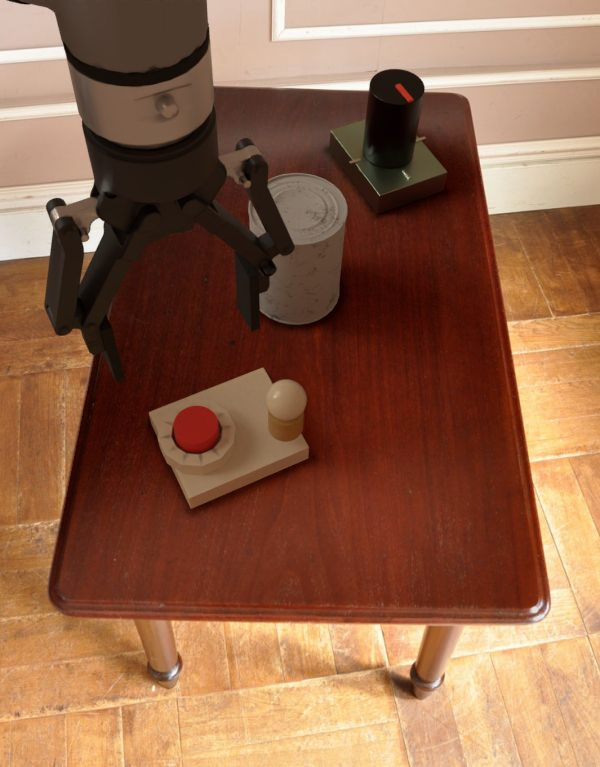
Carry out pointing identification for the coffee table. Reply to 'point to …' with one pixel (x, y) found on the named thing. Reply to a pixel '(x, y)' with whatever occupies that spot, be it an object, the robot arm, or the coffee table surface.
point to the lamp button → (196, 429)
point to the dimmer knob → (392, 117)
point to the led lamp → (285, 409)
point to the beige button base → (227, 440)
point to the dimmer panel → (386, 171)
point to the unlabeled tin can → (305, 248)
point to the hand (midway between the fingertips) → (183, 342)
